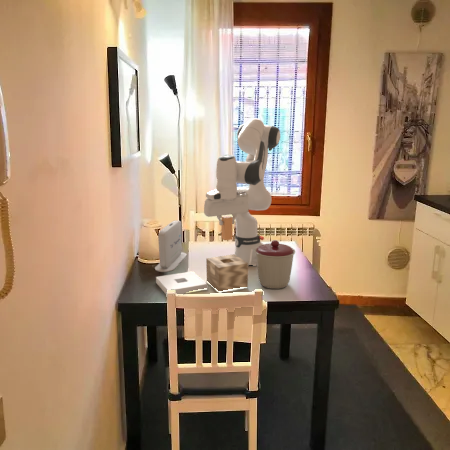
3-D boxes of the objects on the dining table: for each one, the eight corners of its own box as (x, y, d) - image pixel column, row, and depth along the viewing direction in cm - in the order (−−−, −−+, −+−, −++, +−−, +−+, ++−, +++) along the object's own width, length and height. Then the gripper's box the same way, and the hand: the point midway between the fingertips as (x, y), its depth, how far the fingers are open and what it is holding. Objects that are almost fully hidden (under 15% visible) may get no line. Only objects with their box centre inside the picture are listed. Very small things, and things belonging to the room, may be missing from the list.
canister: (255, 277, 220) (255, 234, 215) (293, 278, 218) (294, 235, 213) (253, 291, 203) (253, 245, 198) (294, 293, 201) (296, 247, 196)
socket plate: (192, 277, 220) (192, 271, 220) (207, 290, 204) (207, 283, 204) (156, 283, 213) (156, 276, 212) (168, 297, 197) (168, 290, 196)
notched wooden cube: (234, 278, 218) (234, 254, 215) (247, 288, 206) (247, 263, 203) (206, 283, 213) (206, 258, 210) (219, 293, 200) (218, 267, 197)
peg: (228, 237, 206) (228, 215, 204) (232, 239, 203) (232, 217, 201) (221, 238, 205) (221, 216, 202) (224, 240, 202) (224, 218, 199)
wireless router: (171, 272, 227) (170, 233, 222) (152, 271, 229) (150, 232, 224) (188, 253, 256) (188, 218, 251) (171, 252, 258) (170, 217, 253)
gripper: (244, 190, 206) (244, 220, 209) (202, 194, 198) (202, 225, 201) (251, 192, 200) (251, 223, 204) (208, 196, 192) (208, 228, 196)
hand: (226, 224), depth 202 cm, fingers closed on peg, 4 cm apart
